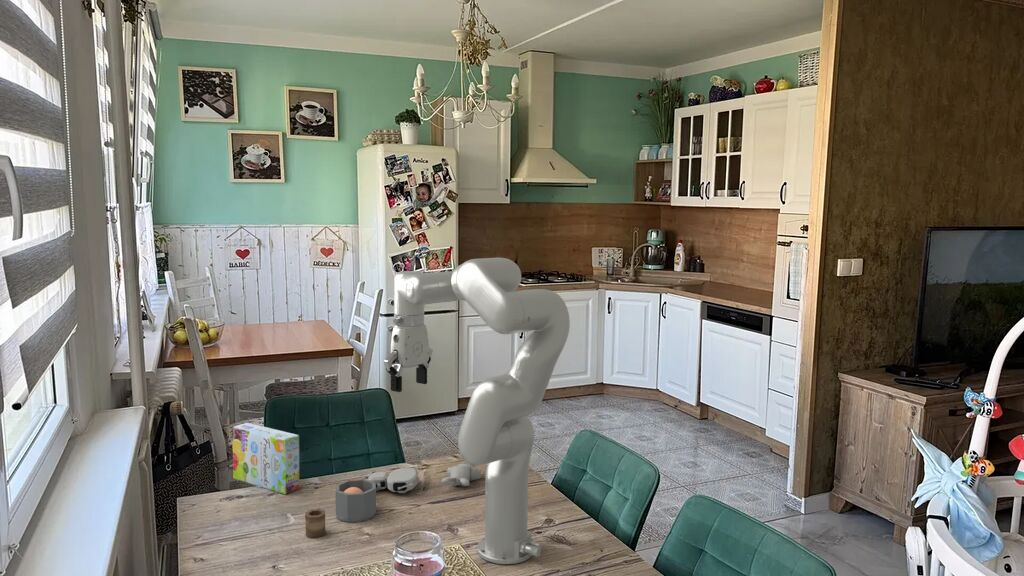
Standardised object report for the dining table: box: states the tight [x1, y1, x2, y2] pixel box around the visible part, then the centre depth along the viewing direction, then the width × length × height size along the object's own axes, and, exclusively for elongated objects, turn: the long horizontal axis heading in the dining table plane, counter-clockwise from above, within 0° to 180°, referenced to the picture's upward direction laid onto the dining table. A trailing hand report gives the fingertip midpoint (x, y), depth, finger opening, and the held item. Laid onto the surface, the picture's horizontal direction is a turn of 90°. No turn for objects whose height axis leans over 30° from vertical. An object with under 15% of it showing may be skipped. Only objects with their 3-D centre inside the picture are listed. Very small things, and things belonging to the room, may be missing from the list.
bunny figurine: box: [440, 463, 482, 488], centre depth 196 cm, size 10×5×15 cm
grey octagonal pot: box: [335, 478, 377, 523], centre depth 175 cm, size 10×10×7 cm
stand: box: [304, 508, 326, 539], centre depth 165 cm, size 4×4×5 cm
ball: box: [344, 487, 363, 494], centre depth 175 cm, size 6×6×6 cm
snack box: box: [231, 422, 300, 495], centre depth 193 cm, size 21×6×15 cm, turn 59°
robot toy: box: [363, 466, 420, 494], centre depth 192 cm, size 12×4×15 cm
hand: (409, 387), depth 180 cm, fingers open, 9 cm apart
